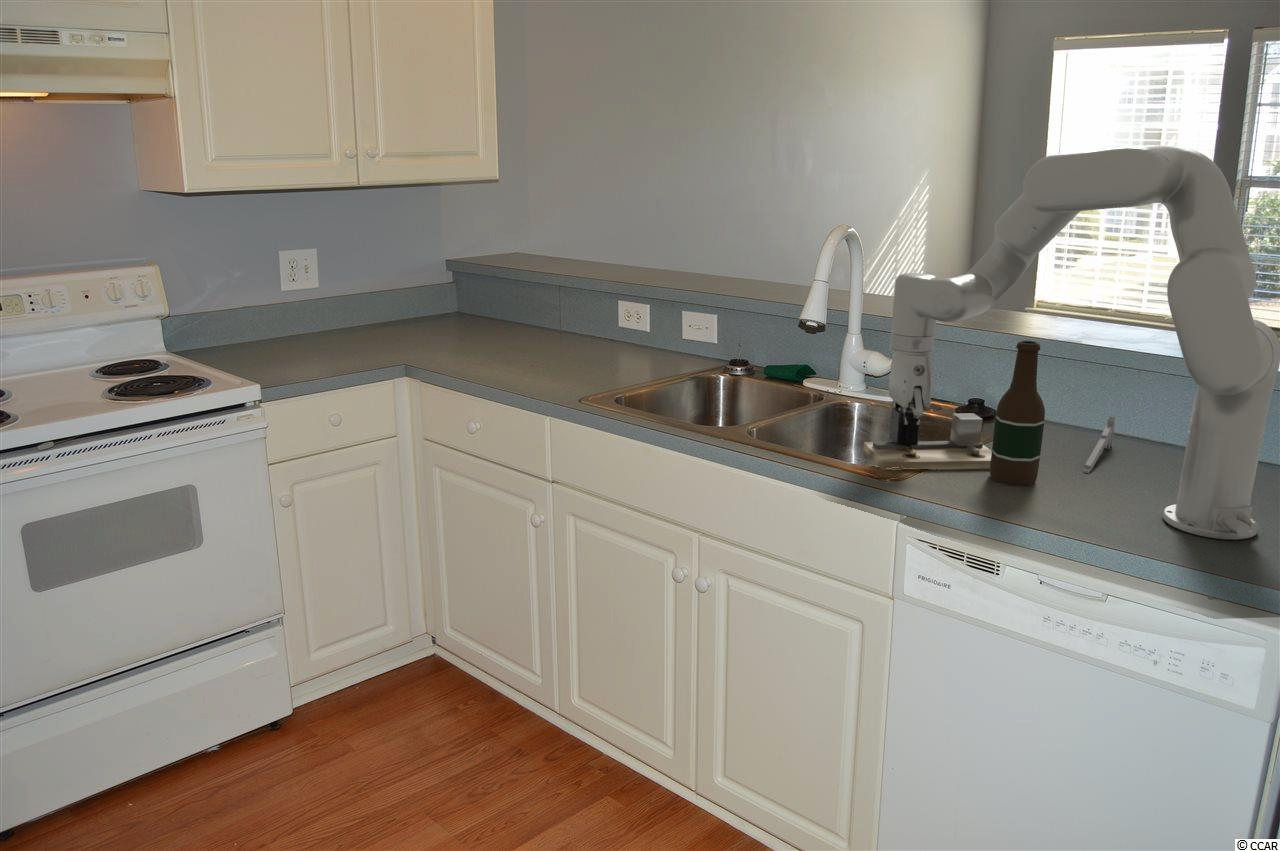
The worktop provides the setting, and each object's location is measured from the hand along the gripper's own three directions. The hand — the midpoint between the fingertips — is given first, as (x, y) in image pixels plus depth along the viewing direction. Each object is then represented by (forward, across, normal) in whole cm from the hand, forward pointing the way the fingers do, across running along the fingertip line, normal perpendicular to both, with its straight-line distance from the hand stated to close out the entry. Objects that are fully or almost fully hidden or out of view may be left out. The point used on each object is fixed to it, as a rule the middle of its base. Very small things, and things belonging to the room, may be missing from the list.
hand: (903, 440), depth 184 cm
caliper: (+3, -4, -36) cm, 36 cm away
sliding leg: (+1, -2, 0) cm, 2 cm away
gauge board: (+3, -2, -5) cm, 6 cm away
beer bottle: (+3, -14, -15) cm, 21 cm away
